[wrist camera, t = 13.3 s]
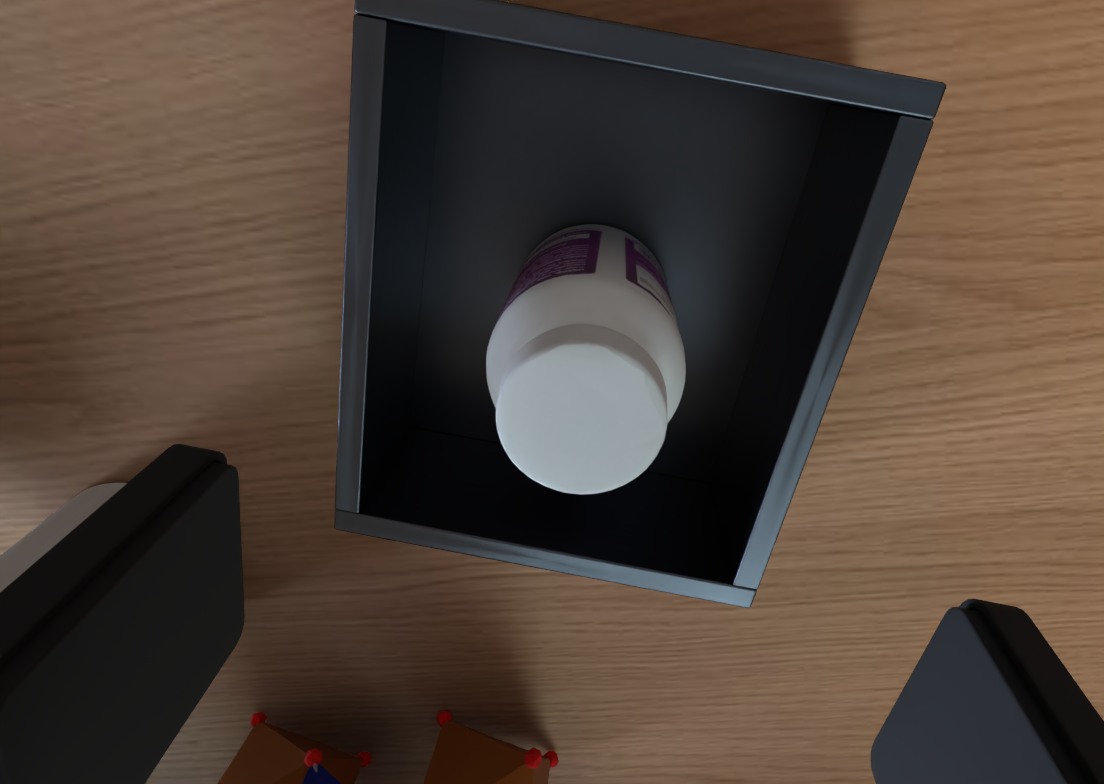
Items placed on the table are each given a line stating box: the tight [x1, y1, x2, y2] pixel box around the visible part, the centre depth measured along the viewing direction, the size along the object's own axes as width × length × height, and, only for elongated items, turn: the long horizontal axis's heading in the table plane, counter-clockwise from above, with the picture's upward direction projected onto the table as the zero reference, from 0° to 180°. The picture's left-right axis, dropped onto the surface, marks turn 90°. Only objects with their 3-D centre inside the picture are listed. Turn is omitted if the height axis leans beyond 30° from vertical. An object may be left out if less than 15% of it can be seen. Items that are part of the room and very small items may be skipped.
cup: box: [0, 483, 127, 592], centre depth 27 cm, size 8×8×12 cm
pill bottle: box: [486, 224, 686, 494], centre depth 20 cm, size 5×5×10 cm
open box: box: [334, 0, 946, 608], centre depth 22 cm, size 16×14×7 cm
